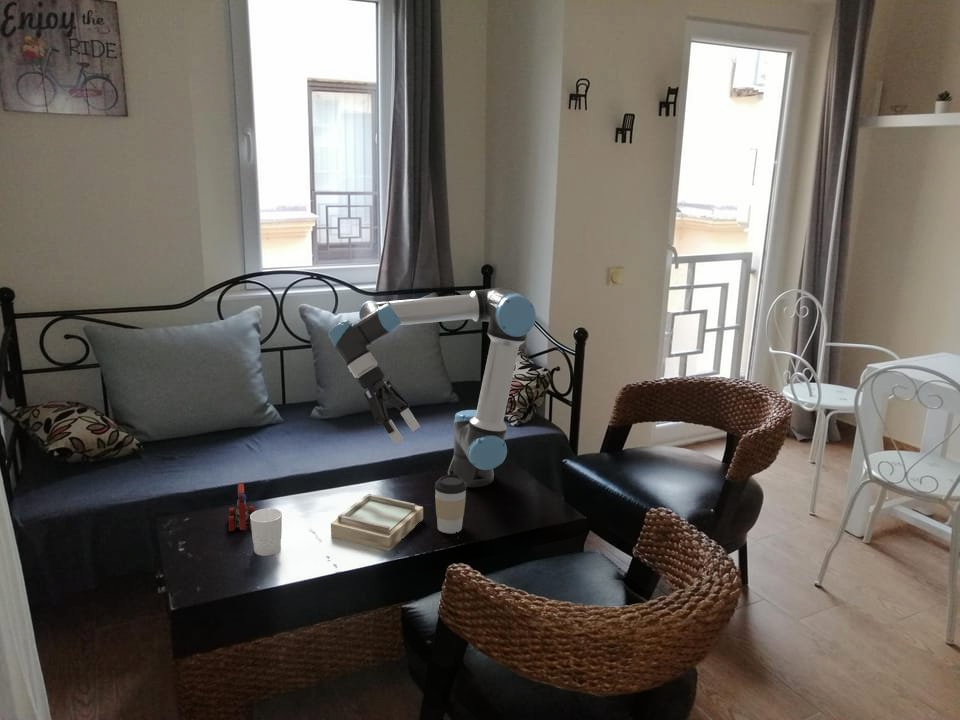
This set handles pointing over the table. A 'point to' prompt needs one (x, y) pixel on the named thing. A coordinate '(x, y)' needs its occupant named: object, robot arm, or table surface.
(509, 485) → the table surface
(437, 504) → the coffee cup
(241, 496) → the toy fire truck
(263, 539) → the white cup
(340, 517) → the tray
